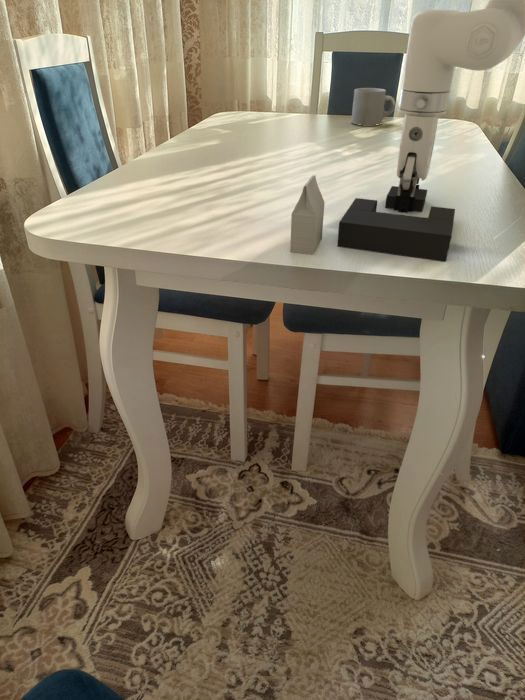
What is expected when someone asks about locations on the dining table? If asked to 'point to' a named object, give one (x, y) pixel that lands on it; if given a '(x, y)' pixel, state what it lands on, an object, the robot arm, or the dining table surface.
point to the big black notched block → (396, 231)
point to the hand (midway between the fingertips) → (404, 210)
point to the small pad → (419, 195)
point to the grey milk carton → (307, 219)
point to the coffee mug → (370, 106)
